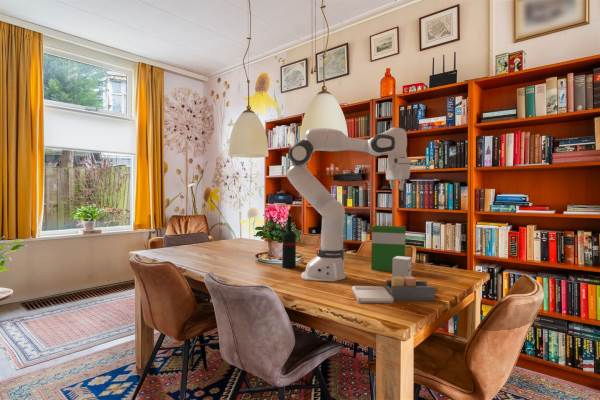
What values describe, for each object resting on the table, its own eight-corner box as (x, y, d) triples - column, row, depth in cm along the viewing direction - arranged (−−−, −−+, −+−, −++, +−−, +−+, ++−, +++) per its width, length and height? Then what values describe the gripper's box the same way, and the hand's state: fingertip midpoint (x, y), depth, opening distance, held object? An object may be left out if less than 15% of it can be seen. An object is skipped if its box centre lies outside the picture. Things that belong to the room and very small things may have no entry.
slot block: (392, 300, 135) (392, 286, 135) (385, 292, 145) (386, 280, 145) (434, 301, 135) (434, 287, 135) (425, 293, 145) (425, 280, 145)
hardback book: (404, 269, 189) (405, 226, 189) (404, 272, 182) (405, 228, 181) (372, 266, 194) (372, 225, 193) (371, 269, 187) (372, 226, 186)
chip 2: (406, 288, 138) (406, 278, 138) (403, 285, 142) (403, 276, 142) (415, 288, 138) (416, 279, 138) (412, 285, 142) (412, 276, 142)
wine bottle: (298, 265, 197) (299, 213, 196) (293, 268, 187) (294, 215, 186) (285, 264, 199) (286, 213, 198) (280, 267, 189) (280, 214, 188)
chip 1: (393, 288, 138) (394, 278, 138) (391, 285, 142) (391, 276, 142) (403, 288, 138) (403, 278, 138) (400, 285, 142) (401, 276, 142)
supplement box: (407, 287, 154) (408, 259, 154) (391, 284, 158) (392, 257, 158) (411, 283, 160) (412, 257, 160) (396, 281, 164) (396, 255, 164)
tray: (358, 302, 132) (358, 297, 132) (352, 290, 148) (352, 286, 148) (393, 303, 132) (393, 298, 132) (383, 290, 148) (383, 286, 148)
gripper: (383, 162, 176) (382, 189, 176) (399, 159, 155) (399, 189, 156) (394, 162, 176) (394, 189, 177) (412, 159, 156) (412, 189, 157)
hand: (396, 189), depth 166 cm, fingers open, 8 cm apart
